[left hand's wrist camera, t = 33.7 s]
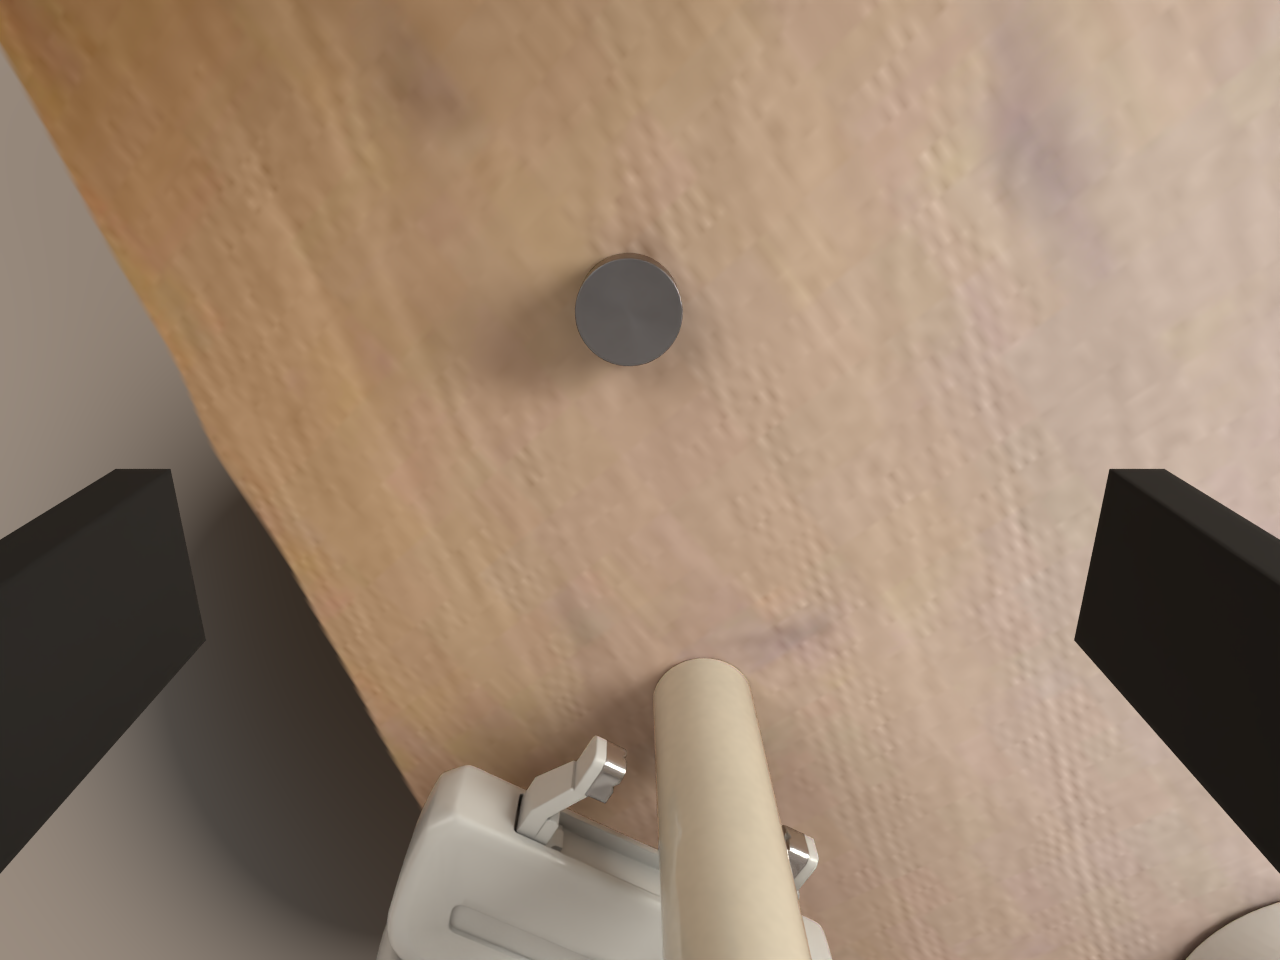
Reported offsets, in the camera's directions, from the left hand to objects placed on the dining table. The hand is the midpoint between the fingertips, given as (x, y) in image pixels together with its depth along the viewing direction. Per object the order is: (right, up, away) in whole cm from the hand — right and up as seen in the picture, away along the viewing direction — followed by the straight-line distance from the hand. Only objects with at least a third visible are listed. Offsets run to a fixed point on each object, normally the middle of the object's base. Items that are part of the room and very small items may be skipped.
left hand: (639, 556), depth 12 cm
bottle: (+3, -10, +30) cm, 32 cm away
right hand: (+3, -12, +24) cm, 27 cm away
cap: (0, +8, +22) cm, 23 cm away
